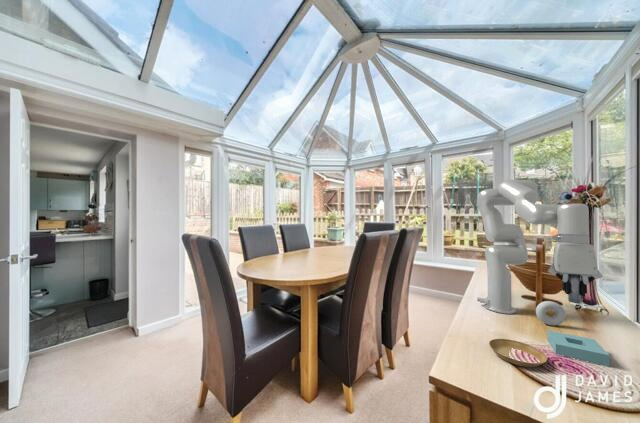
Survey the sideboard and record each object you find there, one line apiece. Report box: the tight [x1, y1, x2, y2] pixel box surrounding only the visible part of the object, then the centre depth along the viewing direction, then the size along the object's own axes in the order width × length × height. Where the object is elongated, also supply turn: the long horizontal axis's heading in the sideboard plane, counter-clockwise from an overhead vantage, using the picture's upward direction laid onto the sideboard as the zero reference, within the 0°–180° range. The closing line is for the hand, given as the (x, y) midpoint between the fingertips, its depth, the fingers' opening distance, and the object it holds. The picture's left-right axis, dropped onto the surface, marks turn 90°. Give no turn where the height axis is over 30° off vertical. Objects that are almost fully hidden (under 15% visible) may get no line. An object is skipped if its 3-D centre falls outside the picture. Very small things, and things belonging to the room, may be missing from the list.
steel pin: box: [567, 274, 582, 304], centre depth 84 cm, size 3×3×10 cm
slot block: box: [546, 330, 611, 368], centre depth 83 cm, size 12×12×4 cm
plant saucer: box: [488, 338, 548, 368], centre depth 80 cm, size 15×15×3 cm
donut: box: [535, 300, 567, 326], centre depth 104 cm, size 10×3×10 cm, turn 71°
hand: (574, 293), depth 84 cm, fingers closed on steel pin, 3 cm apart
